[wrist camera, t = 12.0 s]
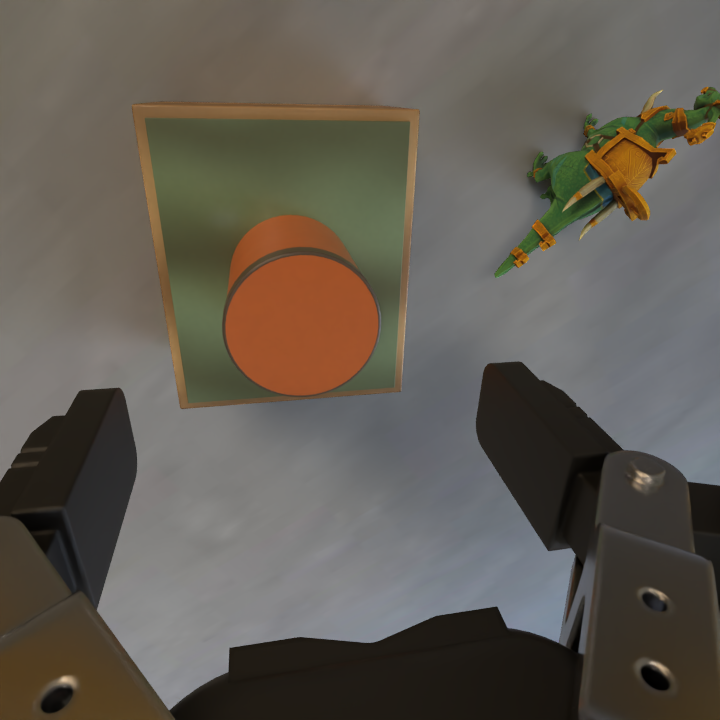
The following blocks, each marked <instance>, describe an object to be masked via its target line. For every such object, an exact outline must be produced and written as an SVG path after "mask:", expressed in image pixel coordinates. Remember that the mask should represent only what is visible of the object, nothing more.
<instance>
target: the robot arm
mask: <svg viewBox="0 0 720 720" xmlns="http://www.w3.org/2000/svg"><path fill="white" fill-rule="evenodd" d="M476 431H477V436H478V440H479V443H480V445H481V447H482V448H483V450H484V451H485V453H486V455H487V456H488V458H489V459H490V461H491V462H492V464H493V466H494V467H495V469H496V470H497V472H498V473H499V475H500V476H501V478H502V480H503V481H504V483H505V484H506V486H507V487H508V489H509V490H510V492H511V494H512V495H513V497H514V498H515V500H516V501H517V503H518V505H519V506H520V508H521V509H522V511H523V512H524V514H525V515H526V517H527V519H528V520H529V522H530V523H531V525H532V526H533V528H534V530H535V531H536V533H537V534H538V536H539V537H540V539H541V540H542V542H543V544H544V545H545V547H546V548H547V550H548V551H553V550H560V549H567V548H572V550H573V551H574V553H575V554H576V555H575V558H574V562H573V565H572V569H571V575H570V581H569V586H568V592H567V598H566V604H565V610H564V616H563V621H562V627H561V633H560V639H559V643H557V642H555V641H553V640H550V639H548V638H546V637H543V636H540V635H536V634H533V633H530V632H526V631H521V630H517V629H510V628H507V626H506V624H505V622H504V620H503V618H502V616H501V614H500V612H499V610H498V607H491V608H485V609H478V610H472V611H465V612H459V613H452V614H446V615H439V616H435V617H433V618H430V619H428V620H426V621H423V622H421V623H419V624H417V625H414V626H412V627H410V628H408V629H405V630H403V631H401V632H399V633H396V634H394V635H392V636H390V637H387V638H385V639H383V640H380V641H378V642H374V643H360V642H349V641H338V640H326V639H315V638H304V637H297V638H291V639H285V640H278V641H272V642H265V643H259V644H252V645H246V646H239V647H233V648H230V650H229V672H228V673H226V674H223V675H221V676H219V677H216V678H214V679H213V680H211V681H209V682H207V683H206V684H204V685H202V686H200V687H199V688H197V689H196V690H194V691H193V692H192V693H190V694H189V695H187V696H186V697H185V698H183V699H182V700H181V701H180V702H179V703H177V704H176V705H175V706H174V707H173V708H172V709H170V710H168V709H167V707H166V706H165V704H164V703H163V702H162V700H161V699H160V698H159V696H158V695H157V693H156V692H155V691H154V689H153V688H152V687H151V685H150V684H149V682H148V681H147V680H146V678H145V677H144V675H143V674H142V673H141V671H140V670H139V669H138V667H137V666H136V664H135V663H134V662H133V660H132V659H131V658H130V656H129V655H128V653H127V652H126V651H125V649H124V648H123V646H122V645H121V644H120V642H119V641H118V640H117V638H116V637H115V635H114V634H113V633H112V631H111V630H110V629H109V627H108V626H107V624H106V623H105V622H104V620H103V619H102V617H101V616H100V615H99V613H98V612H97V607H98V604H99V600H100V597H101V594H102V590H103V587H104V583H105V580H106V577H107V573H108V570H109V567H110V563H111V560H112V556H113V553H114V550H115V546H116V543H117V539H118V536H119V533H120V529H121V526H122V522H123V519H124V516H125V512H126V509H127V505H128V502H129V499H130V495H131V492H132V489H133V485H134V482H135V478H136V472H137V453H136V447H135V442H134V437H133V433H132V428H131V423H130V419H129V414H128V410H127V405H126V400H125V396H124V393H123V391H122V390H121V389H120V388H109V389H94V390H81V391H79V393H78V394H77V396H76V398H75V399H74V401H73V403H72V405H71V406H70V408H69V410H68V412H67V413H66V415H65V416H53V417H51V418H50V419H49V420H47V421H46V422H45V423H43V424H42V425H41V426H39V427H38V428H37V429H36V430H34V431H33V432H32V433H31V434H30V436H29V437H28V439H27V441H26V442H25V444H24V445H23V447H22V449H21V453H20V454H18V455H17V456H16V458H15V460H14V461H13V463H12V464H11V469H8V471H7V472H6V474H5V475H4V477H3V478H2V480H1V482H0V720H720V486H717V485H709V484H701V483H693V482H687V480H686V478H685V477H684V476H683V474H682V473H681V472H680V471H679V470H678V469H676V468H675V467H674V466H672V465H671V464H669V463H668V462H666V461H664V460H662V459H660V458H658V457H655V456H653V455H650V454H647V453H643V452H638V451H628V450H623V449H622V448H621V447H620V446H619V445H618V444H617V443H616V442H615V441H614V440H613V439H612V438H611V437H610V436H609V435H608V434H607V433H606V432H605V431H603V430H602V429H601V428H600V427H599V426H598V425H597V424H596V423H595V422H594V421H593V420H592V419H591V418H590V417H589V418H588V417H587V414H586V413H585V412H584V411H583V410H582V409H581V408H580V407H577V406H576V403H575V402H574V401H573V400H572V399H571V398H570V397H569V396H568V395H567V394H566V393H565V392H563V391H562V390H560V389H558V388H556V387H555V386H553V385H551V384H549V383H547V382H545V381H544V380H541V381H540V380H539V379H538V378H537V377H536V376H535V375H534V374H533V373H532V372H531V371H530V370H529V369H528V368H527V367H526V366H525V365H524V364H523V363H522V362H504V363H490V364H488V365H487V366H486V367H485V369H484V373H483V379H482V385H481V392H480V398H479V405H478V411H477V418H476Z"/></svg>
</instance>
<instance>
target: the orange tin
mask: <svg viewBox="0 0 720 720" xmlns="http://www.w3.org/2000/svg"><path fill="white" fill-rule="evenodd" d="M380 330H381V313H380V308H379V304H378V301H377V298H376V295H375V293H374V291H373V289H372V287H371V286H370V284H369V283H368V281H367V280H366V278H365V277H364V275H363V274H362V273H361V272H360V271H359V269H358V267H357V266H356V264H355V262H354V261H353V259H352V257H351V256H350V254H349V253H348V251H347V249H346V248H345V246H344V244H343V243H342V241H341V240H340V238H339V237H338V236H337V235H336V234H335V233H334V232H333V231H332V230H331V229H330V228H328V227H327V226H325V225H324V224H322V223H321V222H319V221H316V220H314V219H311V218H308V217H305V216H299V215H282V216H277V217H273V218H270V219H267V220H265V221H263V222H261V223H259V224H257V225H256V226H255V227H253V228H252V229H251V230H249V231H248V232H247V233H246V234H245V235H244V237H243V238H242V239H241V240H240V242H239V244H238V245H237V247H236V249H235V251H234V254H233V257H232V261H231V266H230V275H229V283H228V292H227V298H226V302H225V305H224V310H223V319H222V334H223V340H224V344H225V347H226V350H227V353H228V355H229V357H230V359H231V361H232V362H233V363H234V365H235V366H236V368H237V369H238V370H239V371H240V372H241V373H242V374H243V376H245V377H246V378H247V379H248V380H249V381H251V382H252V383H254V384H255V385H257V386H258V387H260V388H262V389H264V390H266V391H268V392H271V393H274V394H277V395H282V396H287V397H311V396H317V395H321V394H325V393H328V392H330V391H333V390H335V389H337V388H339V387H341V386H343V385H345V384H346V383H348V382H349V381H351V380H352V379H353V378H354V377H355V376H357V375H358V374H359V373H360V372H361V370H362V369H363V368H364V367H365V366H366V364H367V363H368V362H369V360H370V359H371V357H372V355H373V353H374V351H375V349H376V346H377V344H378V340H379V336H380Z"/></svg>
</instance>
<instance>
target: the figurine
mask: <svg viewBox="0 0 720 720" xmlns="http://www.w3.org/2000/svg"><path fill="white" fill-rule="evenodd" d="M662 91H663V90H661V91H658V92H656V93H654V94H653V95H652V96H651V97H650V98H649V99H648V101H647V102H646V104H645V105H644V107H643V110H642V112H641V114H640V115H639V116H637V117H621V118H617V119H615V120H613V121H611V122H609V123H607V124H606V125H604V126H603V127H601V128H600V129H598V130H595V129H594V127H593V126H594V125H596V124H597V123H598V119H594V120H593V121H591V122H590V123H589V121H590V119H591V117H592V113H591V114H589V115H588V116H587V118H586V122H585V124H584V130H585V131H584V135H585V137H587V138H588V139H587V141H586V143H585V144H584V146H583V148H582V149H581V151H575V152H568V153H565V154H562V155H559V156H558V157H556V158H554V159H553V160H551V161H550V162H548V163H545V164H543V163H544V162H545V161H547V158H548V156H544V157H543V158H542V156H543V155H544V154H543V152H540V153H539V154H538V156H537V158H536V159H535V161H534V163H533V165H534V167H533V171H532V172H529V173H527V177H532V176H533V175H534V178H535V181H536V183H537V182H540V181H543V180H546V179H549V178H551V185H550V186H549V187H548V189H547V192H546V193H545V194H542V195H541V196H540V198H542V199H545V198H549V199H550V201H551V207H550V209H549V210H548V211H547V212H546V213H545V215H544V216H543V217H542V218H541V219H540V220H536V222H535V223H534V225H533V226H532V230H531V231H530V232H529V234H528V235H527V236H526V238H525V239H524V240H523V241H522V242H521V243H520V245H519V246H518V247H515V248H514V249H513V250H512V251H511V253H510V256H509V257H508V258H507V259H506V260H505V261H504V262H503V263H502V264H501V266H500V267H499V268H498V270H497V271H496V273H495V274H494V275H495V277H496V278H497V277H499V276H501V275H503V274H505V273H507V272H508V271H509V270H510V269H511V268H513V267H514V266H515V265H516V267H518V268H519V267H520V266H522V265H523V264H525V263H526V262H527V261H528V260H529V257H528V256H527V255H528V254H530V253H531V252H532V251H534V250H535V249H536V248H538V247H539V246H540V247H541V249H542V250H543V251H544V250H546V249H547V248H549V247H551V246H552V245H554V244H556V241H555V239H554V238H553V237H554V236H555V235H556V234H558V233H559V232H560V231H561V230H563V229H564V228H565V227H566V226H568V225H569V224H571V223H573V222H574V221H576V220H578V219H583V218H585V217H588V216H590V215H593V214H595V213H597V212H599V211H600V212H599V213H598V214H597V215H596V216H595V217H594V218H592V219H591V220H590V221H589V222H588V223H587V224H586V225H585V227H584V228H583V230H582V232H581V235H580V239H581V238H582V237H583V236H584V234H585V233H586V232H587V231H588V230H589V229H591V228H592V227H593V226H595V225H596V224H598V223H599V222H601V221H602V220H603V219H604V218H606V217H607V216H608V215H609V214H610V213H612V212H613V211H614V210H615V209H616V208H621V207H622V206H623V207H624V208H625V209H624V211H625V214H626V215H627V216H628V217H629V218H630V219H631V221H633V220H635V219H636V218H637V217H638V218H639V219H640V220H648V219H649V216H650V210H649V207H648V205H647V203H646V201H645V200H644V198H643V197H642V196H641V195H640V194H639V193H638V192H637V191H638V190H639V189H640V188H641V187H642V185H643V184H644V183H645V182H646V181H647V179H648V178H651V179H652V177H653V176H654V175H655V173H656V172H657V169H658V165H659V164H668V163H669V162H670V160H671V159H672V158H673V157H674V156H675V155H676V151H675V149H662V148H658V146H659V145H660V144H661V143H662V142H663V141H664V140H666V139H670V138H672V139H674V138H676V137H680V136H684V138H686V139H687V141H688V144H689V145H690V146H691V145H694V144H700V143H702V142H703V141H705V139H707V138H709V137H710V136H711V135H712V134H713V132H714V131H713V129H714V128H715V125H716V123H715V122H716V120H717V119H718V118H719V119H720V94H719V93H718V91H717V90H716V89H715V88H713V87H705V88H704V89H702V91H701V93H704V94H703V95H700V96H697V98H696V101H695V104H694V110H684V109H683V108H677V109H670V108H669V107H668V106H667V105H666V106H661V107H657V108H653V109H652V107H653V103H654V100H655V99H656V97H657V96H658V95H659V94H660V93H661V92H662ZM706 121H708V122H707V123H705V122H706ZM701 125H702V126H701ZM699 126H700V127H699ZM541 158H542V159H541ZM580 239H579V240H580Z"/></svg>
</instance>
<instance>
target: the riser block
mask: <svg viewBox="0 0 720 720" xmlns="http://www.w3.org/2000/svg"><path fill="white" fill-rule="evenodd" d="M132 112H133V118H134V124H135V130H136V137H137V143H138V149H139V155H140V161H141V168H142V174H143V180H144V186H145V192H146V199H147V205H148V211H149V217H150V223H151V229H152V236H153V242H154V248H155V254H156V260H157V267H158V273H159V279H160V285H161V291H162V298H163V304H164V310H165V316H166V322H167V329H168V335H169V341H170V347H171V353H172V359H173V366H174V372H175V378H176V384H177V390H178V397H179V403H180V408H181V409H187V408H200V407H212V406H225V405H238V404H251V403H264V402H276V401H289V400H302V399H315V398H327V397H340V396H353V395H366V394H379V393H391V392H401V388H402V373H403V357H404V342H405V327H406V312H407V297H408V281H409V266H410V251H411V236H412V220H413V205H414V190H415V175H416V159H417V144H418V129H419V114H420V111H419V110H418V109H409V108H399V107H390V106H368V105H317V104H266V103H214V102H163V101H160V102H150V103H140V104H133V105H132ZM282 215H299V216H305V217H308V218H311V219H314V220H316V221H319V222H321V223H322V224H324V225H325V226H327V227H328V228H330V229H331V230H332V231H333V232H334V233H335V234H336V235H337V236H338V237H339V238H340V240H341V241H342V243H343V244H344V246H345V248H346V249H347V251H348V253H349V254H350V256H351V257H352V259H353V261H354V262H355V264H356V266H357V267H358V269H359V271H360V272H361V273H362V274H363V275H364V277H365V278H366V280H367V281H368V283H369V284H370V286H371V287H372V289H373V291H374V293H375V295H376V298H377V301H378V304H379V308H380V313H381V330H380V336H379V340H378V344H377V346H376V349H375V351H374V353H373V355H372V357H371V359H370V360H369V362H368V363H367V364H366V366H365V367H364V368H363V369H362V370H361V372H360V373H359V374H358V375H357V376H355V377H354V378H353V379H352V380H351V381H349V382H348V383H346V384H345V385H343V386H341V387H339V388H337V389H335V390H333V391H330V392H328V393H325V394H321V395H317V396H311V397H287V396H282V395H277V394H274V393H271V392H268V391H266V390H264V389H262V388H260V387H258V386H257V385H255V384H254V383H252V382H251V381H249V380H248V379H247V378H246V377H245V376H243V374H242V373H241V372H240V371H239V370H238V369H237V368H236V366H235V365H234V363H233V362H232V361H231V359H230V357H229V355H228V353H227V350H226V347H225V344H224V340H223V334H222V319H223V310H224V305H225V302H226V298H227V292H228V283H229V275H230V266H231V261H232V257H233V254H234V251H235V249H236V247H237V245H238V244H239V242H240V240H241V239H242V238H243V237H244V235H245V234H246V233H247V232H248V231H249V230H251V229H252V228H253V227H255V226H256V225H257V224H259V223H261V222H263V221H265V220H267V219H270V218H273V217H277V216H282Z"/></svg>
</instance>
